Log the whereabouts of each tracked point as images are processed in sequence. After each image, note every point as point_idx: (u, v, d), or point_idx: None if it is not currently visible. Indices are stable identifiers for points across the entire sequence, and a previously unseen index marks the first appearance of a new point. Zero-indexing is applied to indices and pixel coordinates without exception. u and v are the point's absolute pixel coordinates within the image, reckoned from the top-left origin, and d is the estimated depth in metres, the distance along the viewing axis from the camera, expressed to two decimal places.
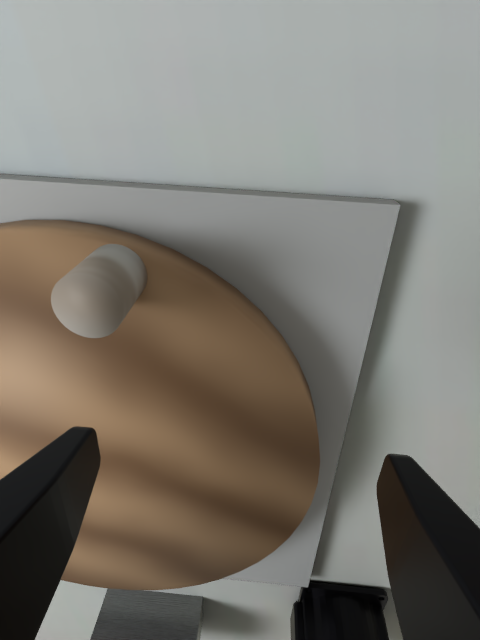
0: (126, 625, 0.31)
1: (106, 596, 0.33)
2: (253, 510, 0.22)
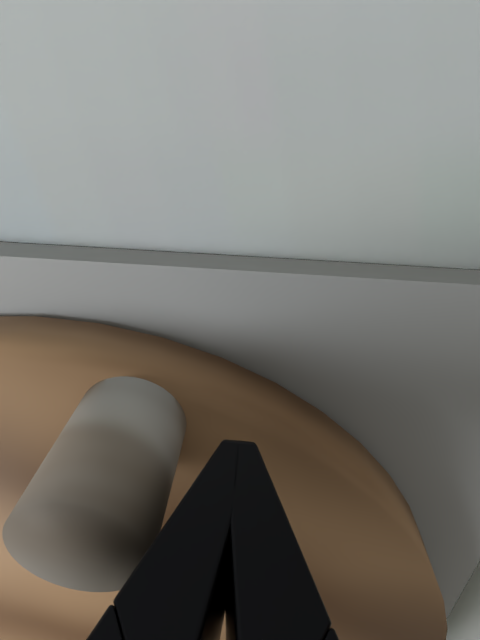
0: None
1: None
2: None
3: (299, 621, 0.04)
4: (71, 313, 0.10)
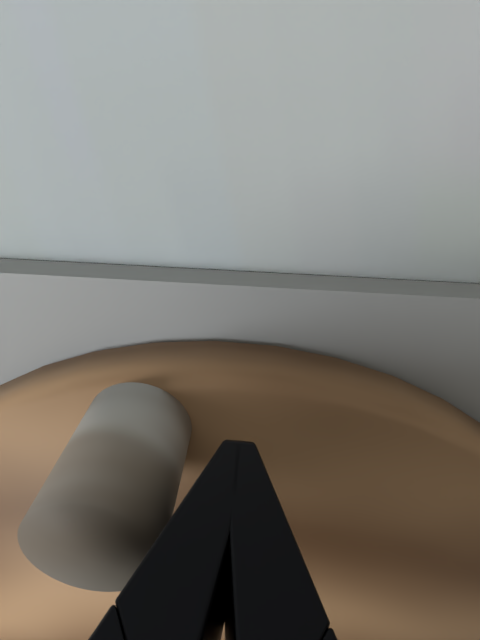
0: None
1: None
2: None
3: (297, 621, 0.04)
4: (258, 338, 0.11)
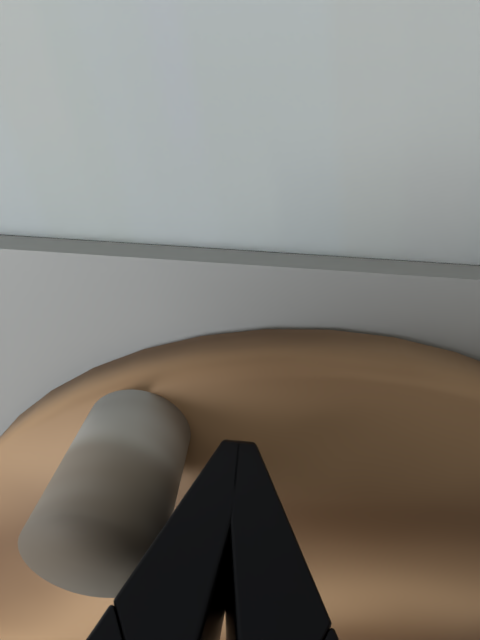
0: None
1: None
2: None
3: (299, 621, 0.04)
4: (360, 326, 0.10)
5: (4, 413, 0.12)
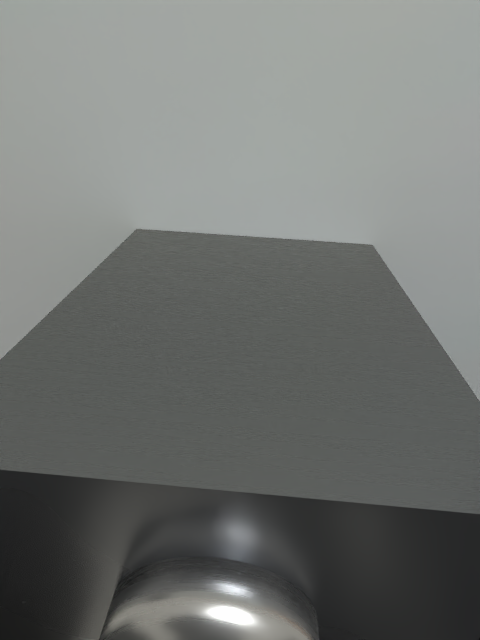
0: None
1: None
2: None
3: None
4: None
5: None
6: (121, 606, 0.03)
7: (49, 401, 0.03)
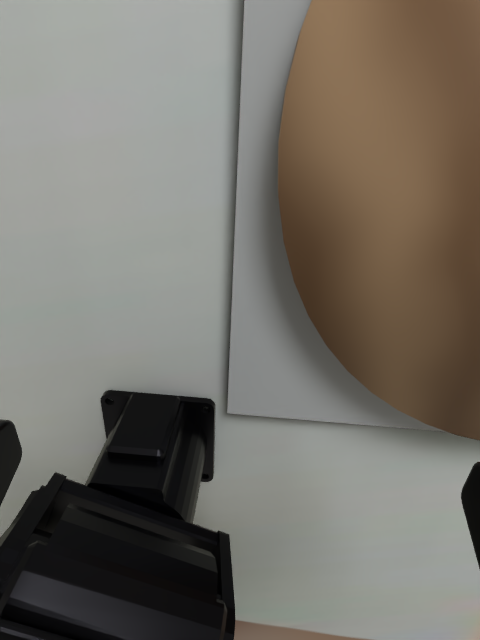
0: None
1: None
2: None
3: None
4: None
5: None
6: None
7: None
